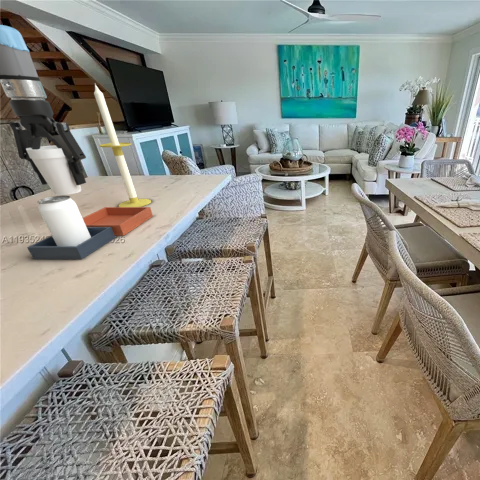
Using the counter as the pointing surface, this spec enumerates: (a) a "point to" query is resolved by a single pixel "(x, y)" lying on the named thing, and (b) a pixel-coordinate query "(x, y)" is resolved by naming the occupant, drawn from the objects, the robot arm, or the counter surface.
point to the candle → (118, 154)
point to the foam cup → (54, 169)
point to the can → (63, 220)
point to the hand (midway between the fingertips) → (64, 183)
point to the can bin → (52, 251)
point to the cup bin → (118, 218)
